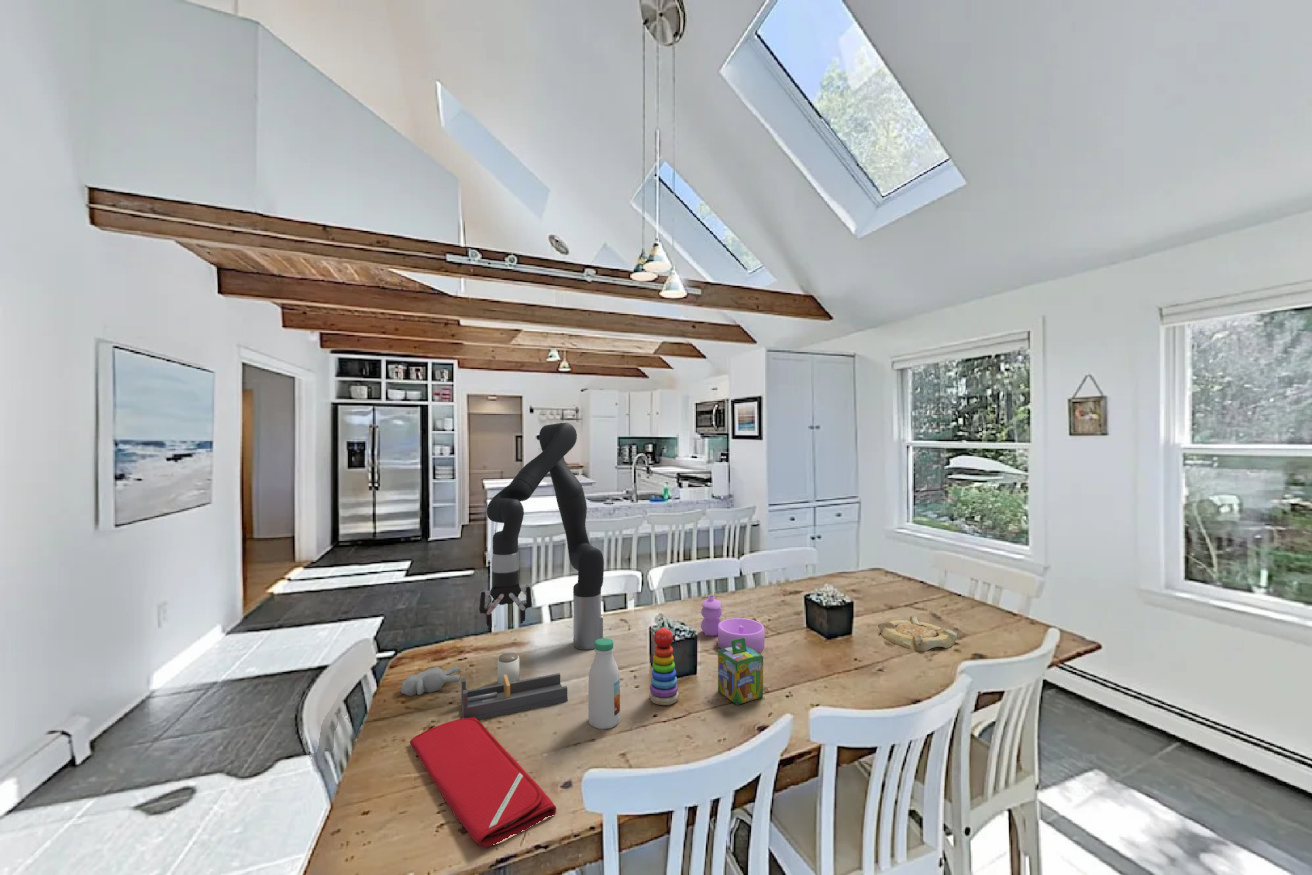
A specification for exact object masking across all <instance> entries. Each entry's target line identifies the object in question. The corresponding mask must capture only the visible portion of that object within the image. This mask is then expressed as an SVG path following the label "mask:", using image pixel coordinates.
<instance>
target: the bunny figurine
mask: <svg viewBox="0 0 1312 875" xmlns="http://www.w3.org/2000/svg"><path fill="white" fill-rule="evenodd" d="M460 670H461V668H460V666H456V665H455V666H453V667H451V668H449V669H447V670H445V671H444V670H443V669H442V668H441V667H440V666H435V667H430V668H428V669H426V670H425V671H421V672H418V673H417V674H411V675H409V676H407V678H406V679H405V680H404V681H401V686H400V692H401V695H403V694H404V695H406V696H415V695H416V694H417V695H418V696H419V695H422V694H424V693H434V692H437V691H440V690H441V689H442V687H443V686H444V684H445V683H456V682H460V681H461V676H460V674H459V673H458V674H455V673H457V672H459V671H460Z"/></svg>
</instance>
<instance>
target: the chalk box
mask: <svg viewBox="0 0 1312 875" xmlns="http://www.w3.org/2000/svg"><path fill="white" fill-rule="evenodd" d="M737 643H741V644H742V645H737V646H736V644H737ZM731 644H732V647H728V648H723V649H721V648H719V649H718V650H717V691H718V692H719V693H720V694H722V695H723V696H724V697H726V698H727V699H728V700H730V702H732V703H734V704H735V705H736V706H738V705H741V704H745V703H748V702H751V701H755V700H758V699H759V700H760V699H763V697H764V656H763V654H760V652H759V653H757V652H756V651H755V650H753V649H751V648H748V647H746V643H745V638H740V639H736V640H732V642H731Z"/></svg>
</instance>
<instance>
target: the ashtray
mask: <svg viewBox="0 0 1312 875" xmlns="http://www.w3.org/2000/svg"><path fill="white" fill-rule="evenodd" d="M877 627H878V628H879V632H880V636H881V637H882V638H883V639H884V640H886V641H888V642H890V643H893V644H895V645H899V646H902V647H903V648H905V649H909V650H913V651H917V652H925V651H928V650H930V649H933V648H937V647H939V648H941V647H942V648H945V649H949V648H951V647H952V646H954V645H955V643H956V641H957V639H958V632H957V631H954V630H952V629H950V628H947V627H940V626H938V625H934V624H932V623H928V622H924V621H920V620H919V618H918V617H917V616H915V615H911V616H909V620H907V619H898V620H897V619H896V620H891V621H886V622H883V623H879V624H877Z"/></svg>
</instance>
